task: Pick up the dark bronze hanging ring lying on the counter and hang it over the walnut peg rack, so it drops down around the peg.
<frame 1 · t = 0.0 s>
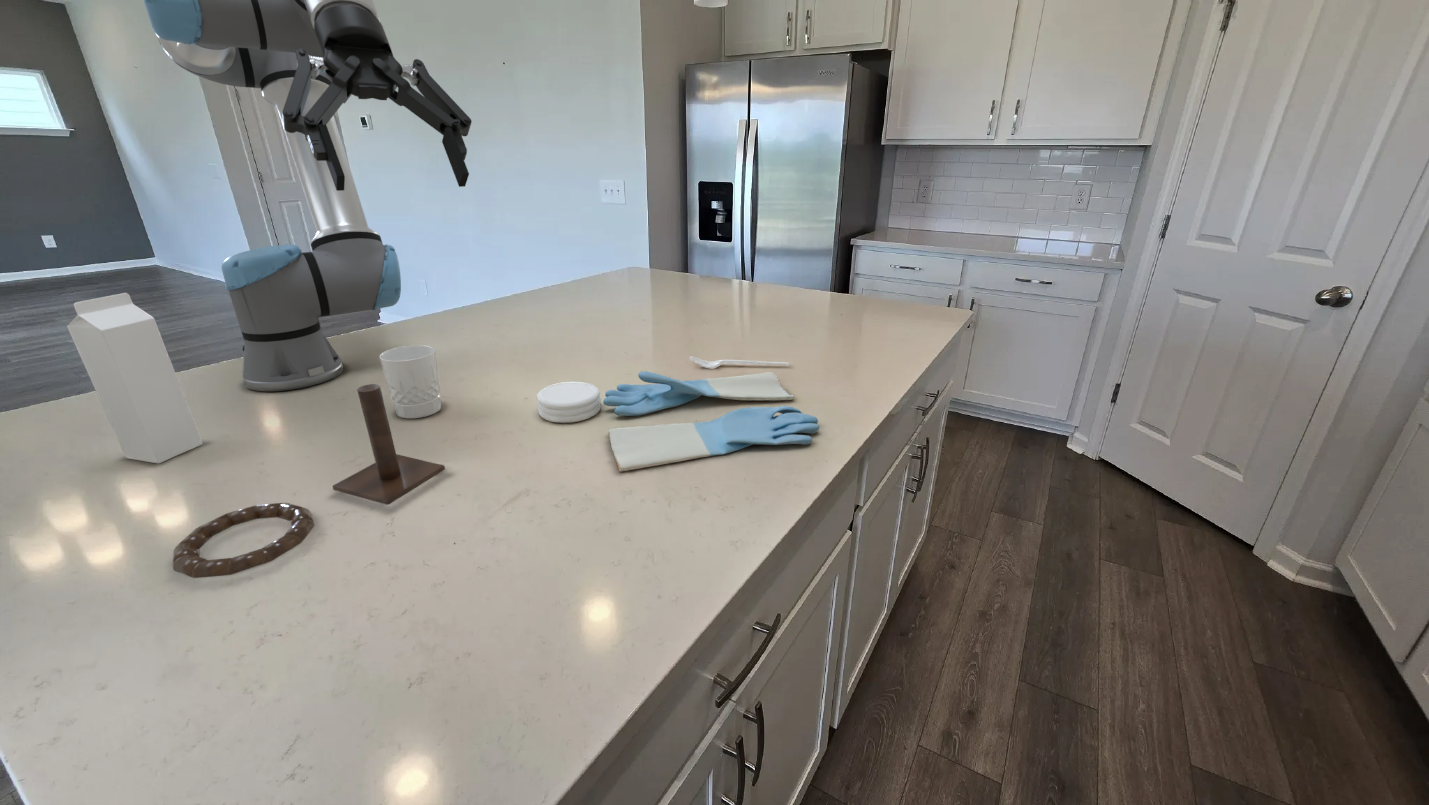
hand: (406, 182, 69), 36 cm above the worktop, tool tilted 35°, fingers open, 13 cm apart
white short cylinder: (570, 412, 96), on the worktop
rubber gloves: (707, 419, 94), on the worktop
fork: (739, 367, 117), on the worktop
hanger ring: (247, 538, 63), point 1 cm above the worktop
rack: (392, 485, 75), on the worktop
white cup: (419, 411, 96), on the worktop
milk: (166, 452, 82), on the worktop
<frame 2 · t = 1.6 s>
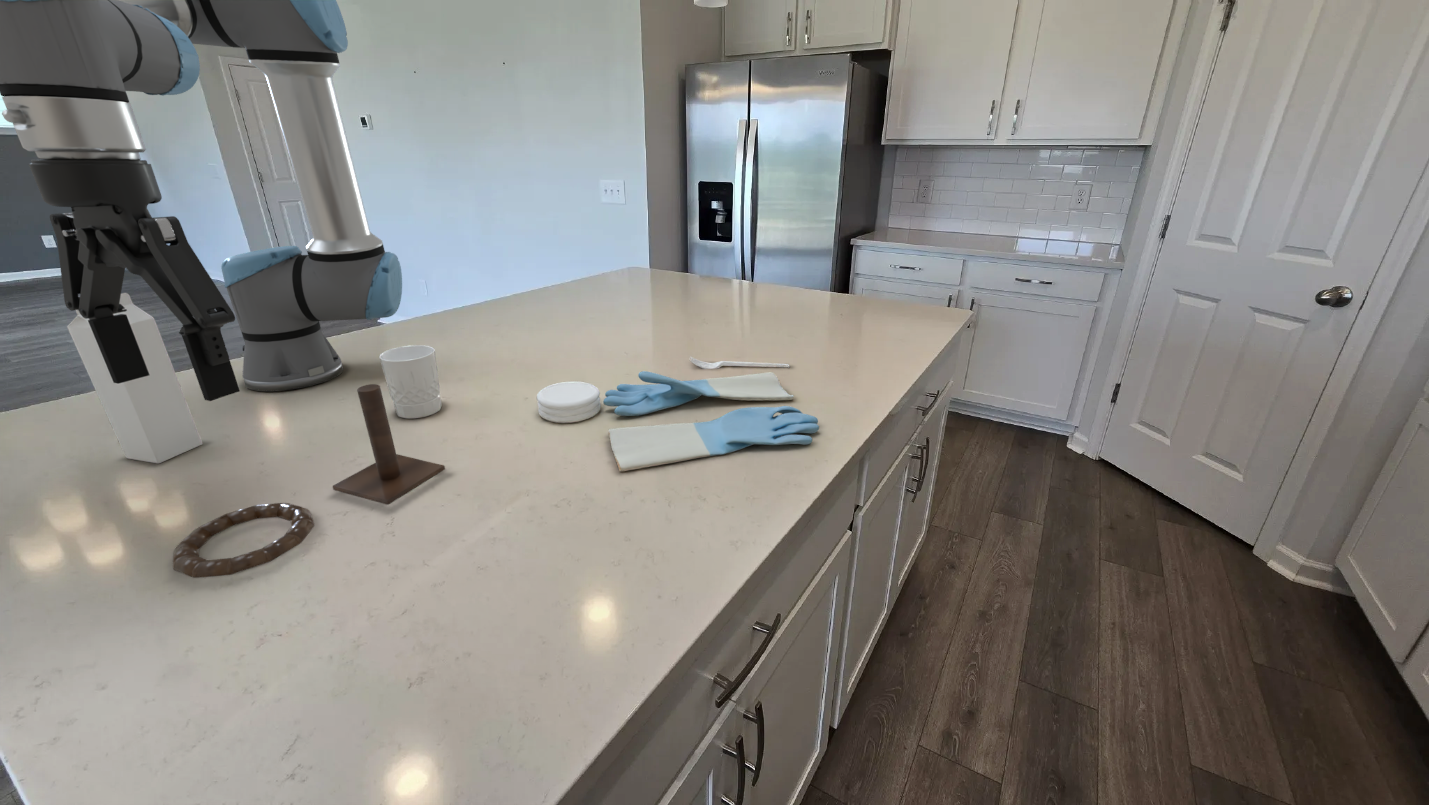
hand: (175, 387, 58), 18 cm above the worktop, tool pointing down, fingers open, 13 cm apart
nothing on the worktop moved.
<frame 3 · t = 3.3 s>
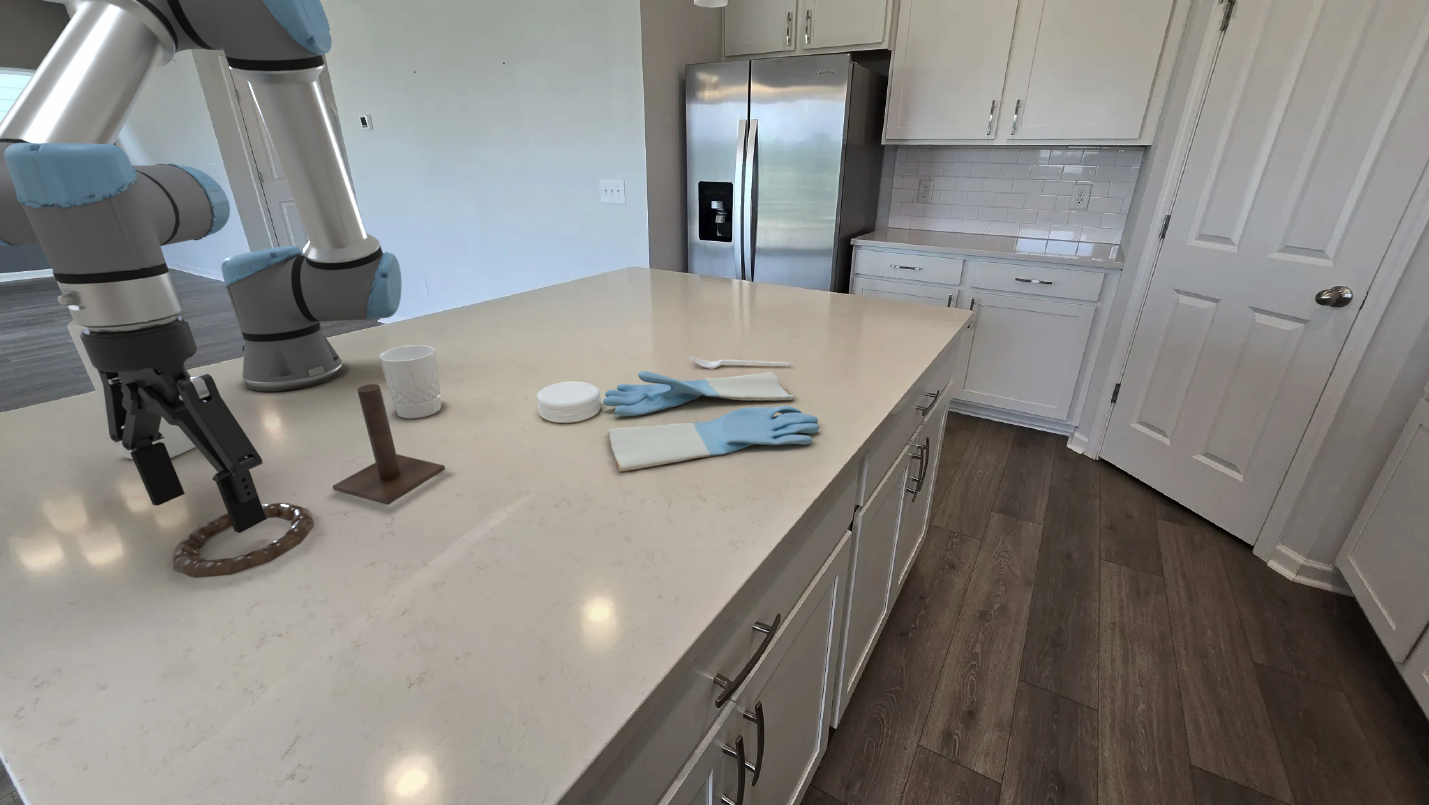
hand: (208, 512, 63), 3 cm above the worktop, tool pointing down, fingers open, 13 cm apart
nothing on the worktop moved.
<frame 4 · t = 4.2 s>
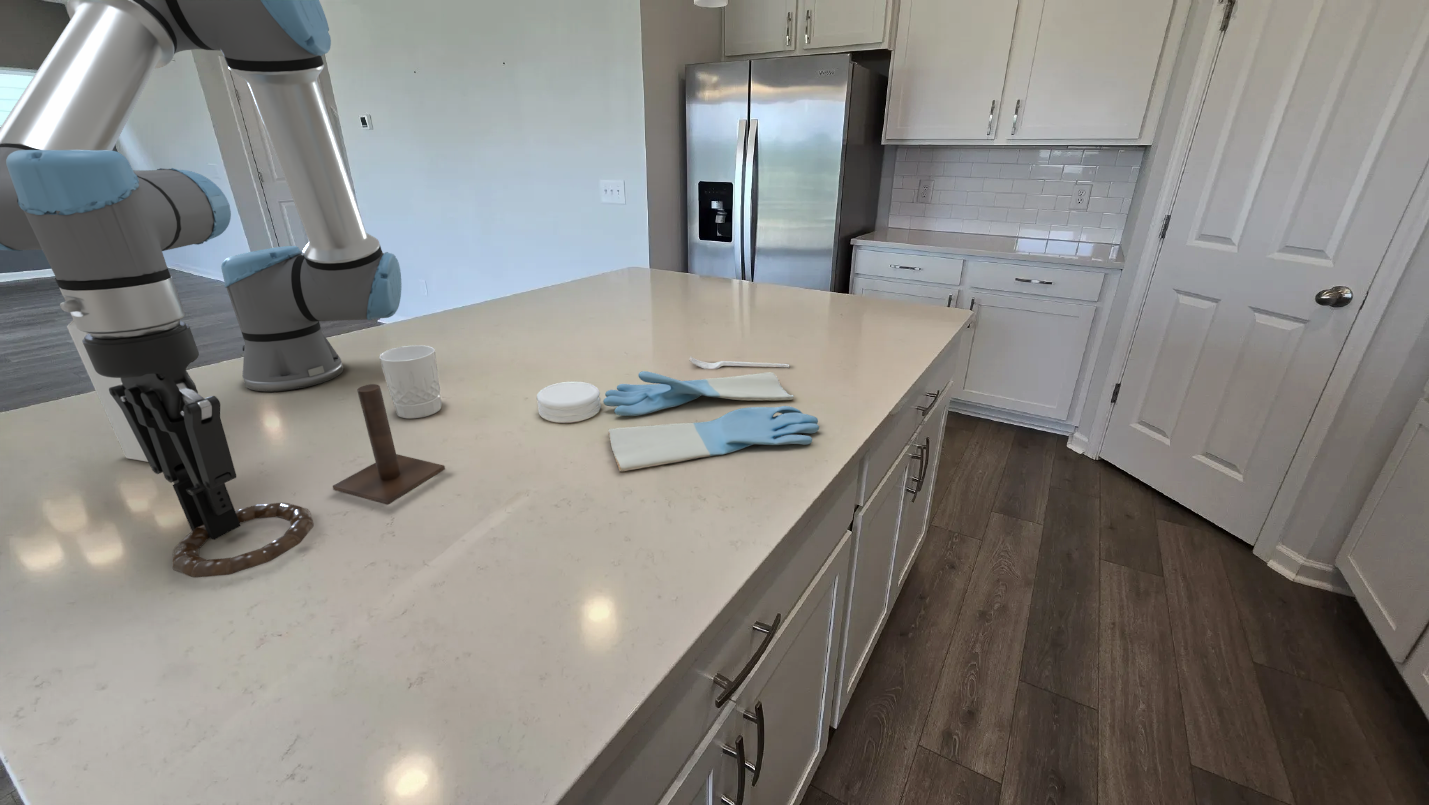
hand: (218, 532, 65), 1 cm above the worktop, tool pointing down, fingers closed on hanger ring, 2 cm apart
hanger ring: (246, 538, 63), point 1 cm above the worktop, touching gripper
everything else where it was.
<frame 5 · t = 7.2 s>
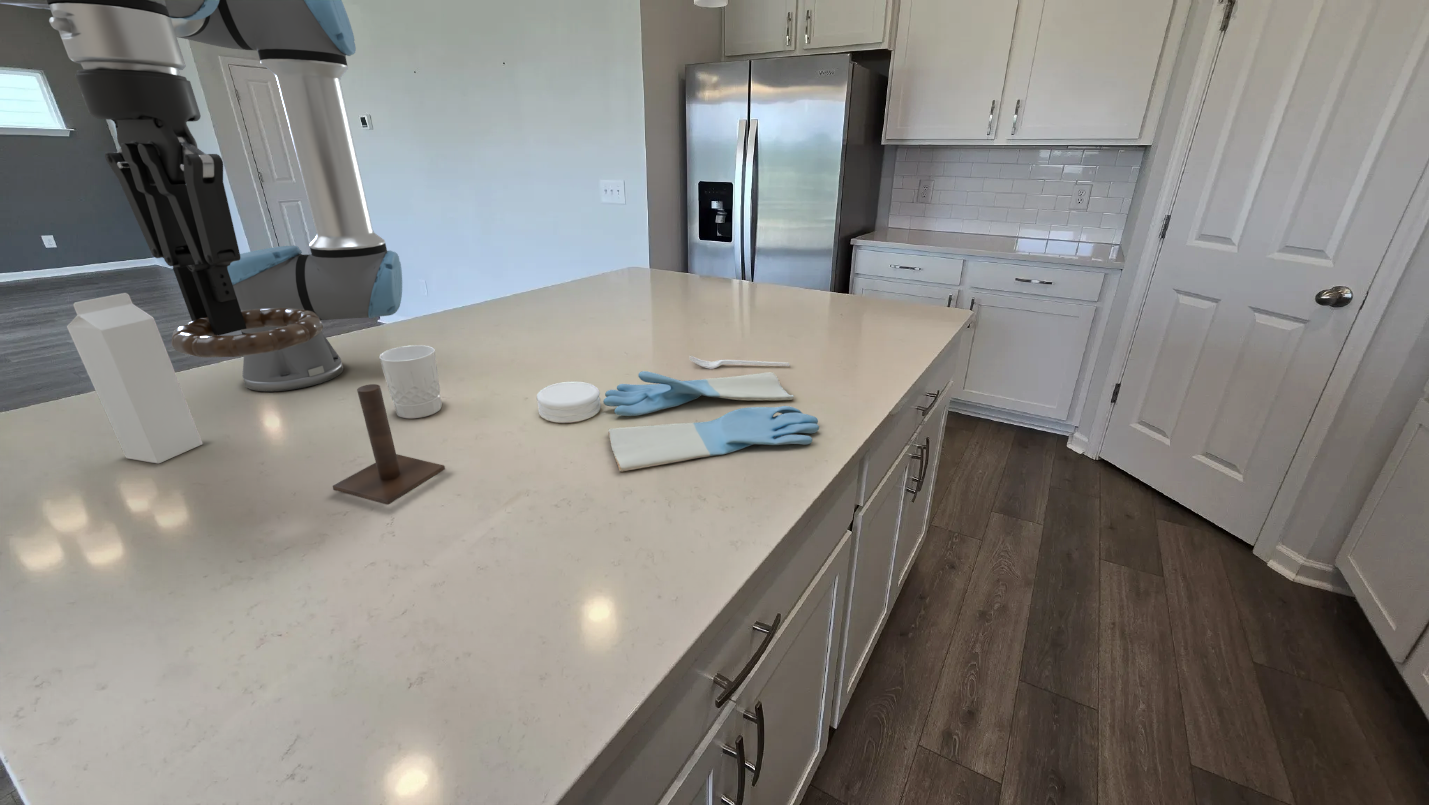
hand: (221, 329, 61), 22 cm above the worktop, tool pointing down, fingers closed on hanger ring, 2 cm apart
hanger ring: (251, 330, 59), point 23 cm above the worktop, touching gripper
everything else where it was.
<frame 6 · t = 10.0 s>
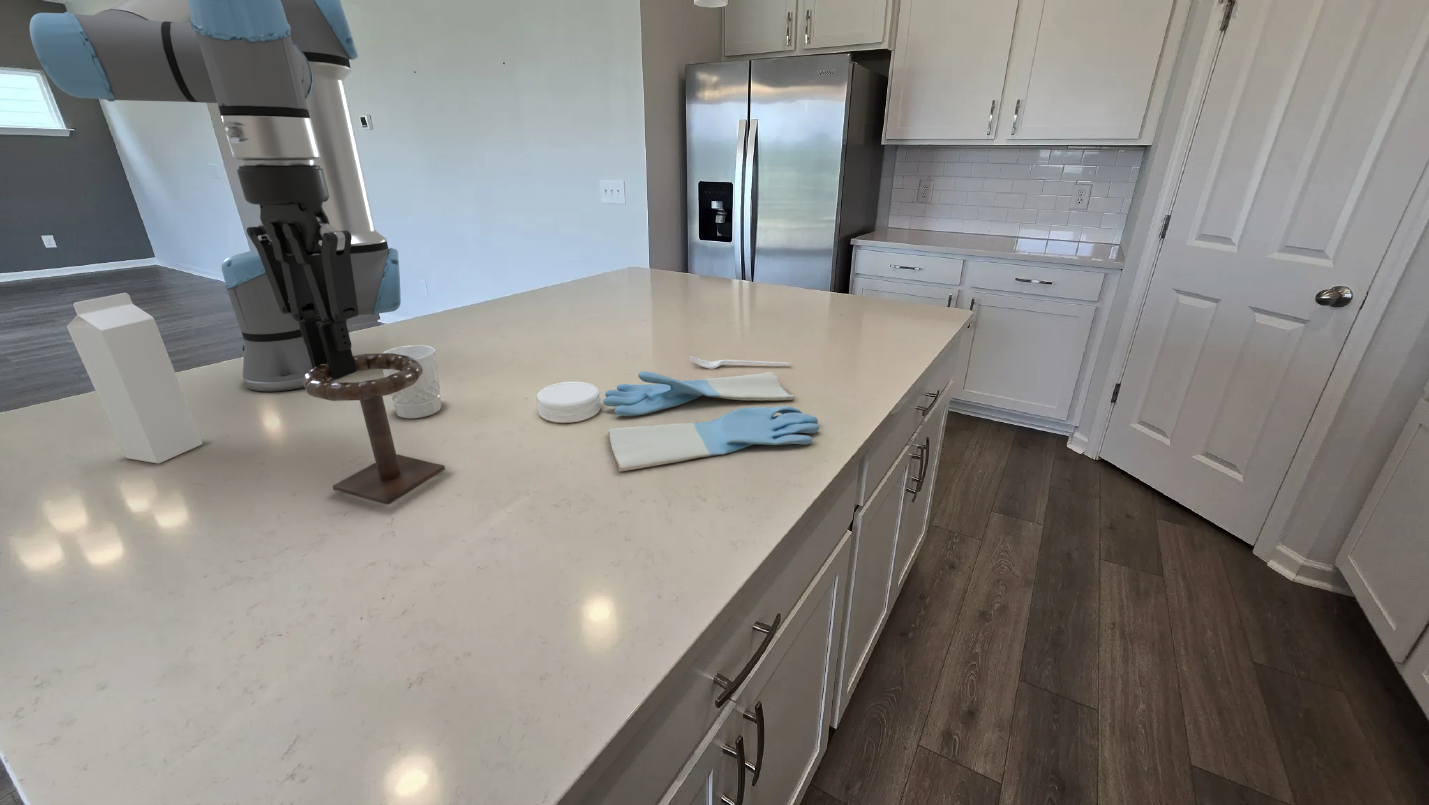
hand: (335, 373, 70), 15 cm above the worktop, tool pointing down, fingers closed on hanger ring, 2 cm apart
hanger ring: (364, 375, 69), point 15 cm above the worktop, touching gripper
everything else where it was.
when the fingers open (13 cm above the worktop, at t = 10.7 s): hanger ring drops 11 cm, resting on rack.
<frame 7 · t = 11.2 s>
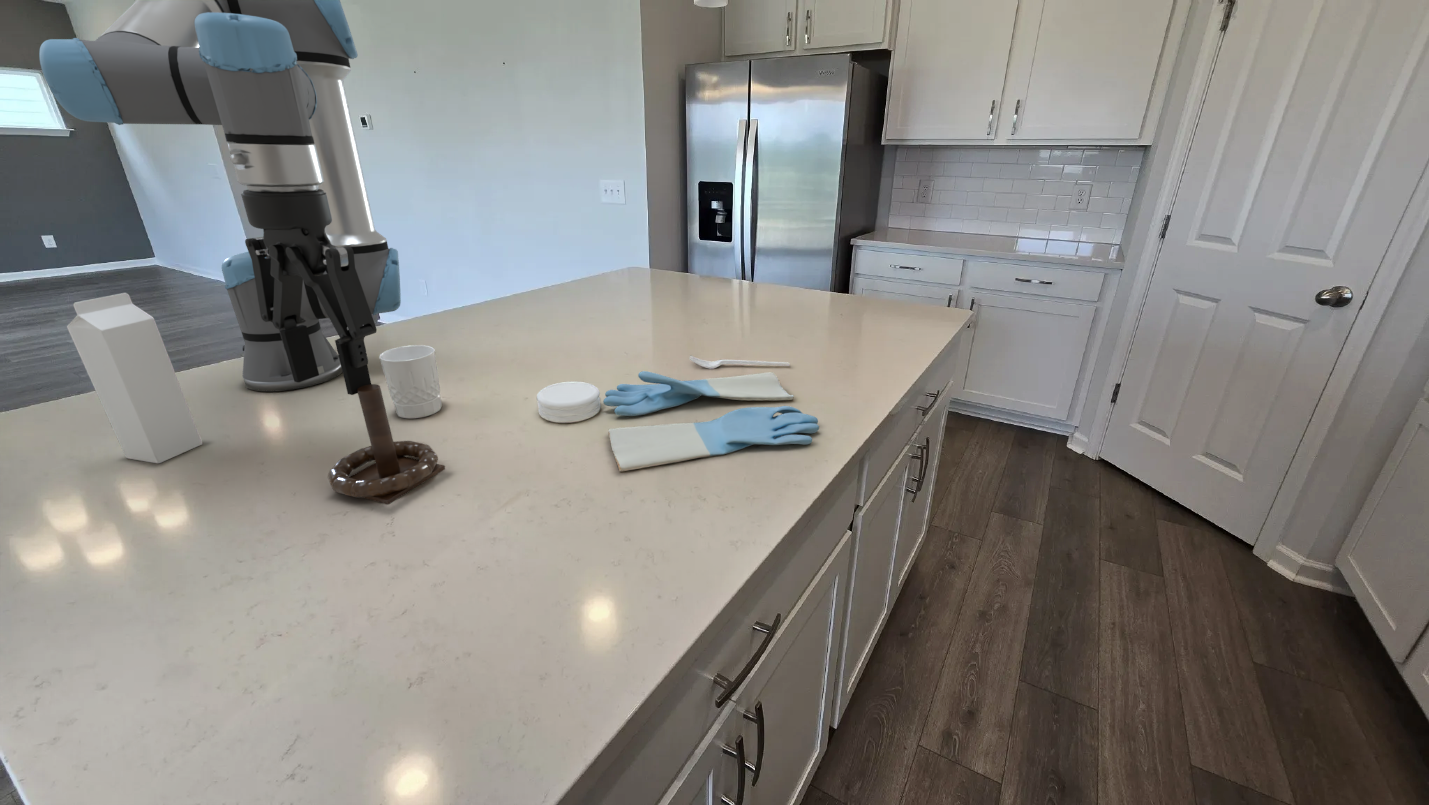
hand: (333, 384, 71), 13 cm above the worktop, tool pointing down, fingers open, 8 cm apart
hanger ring: (384, 467, 74), point 2 cm above the worktop, touching rack
everything else where it was.
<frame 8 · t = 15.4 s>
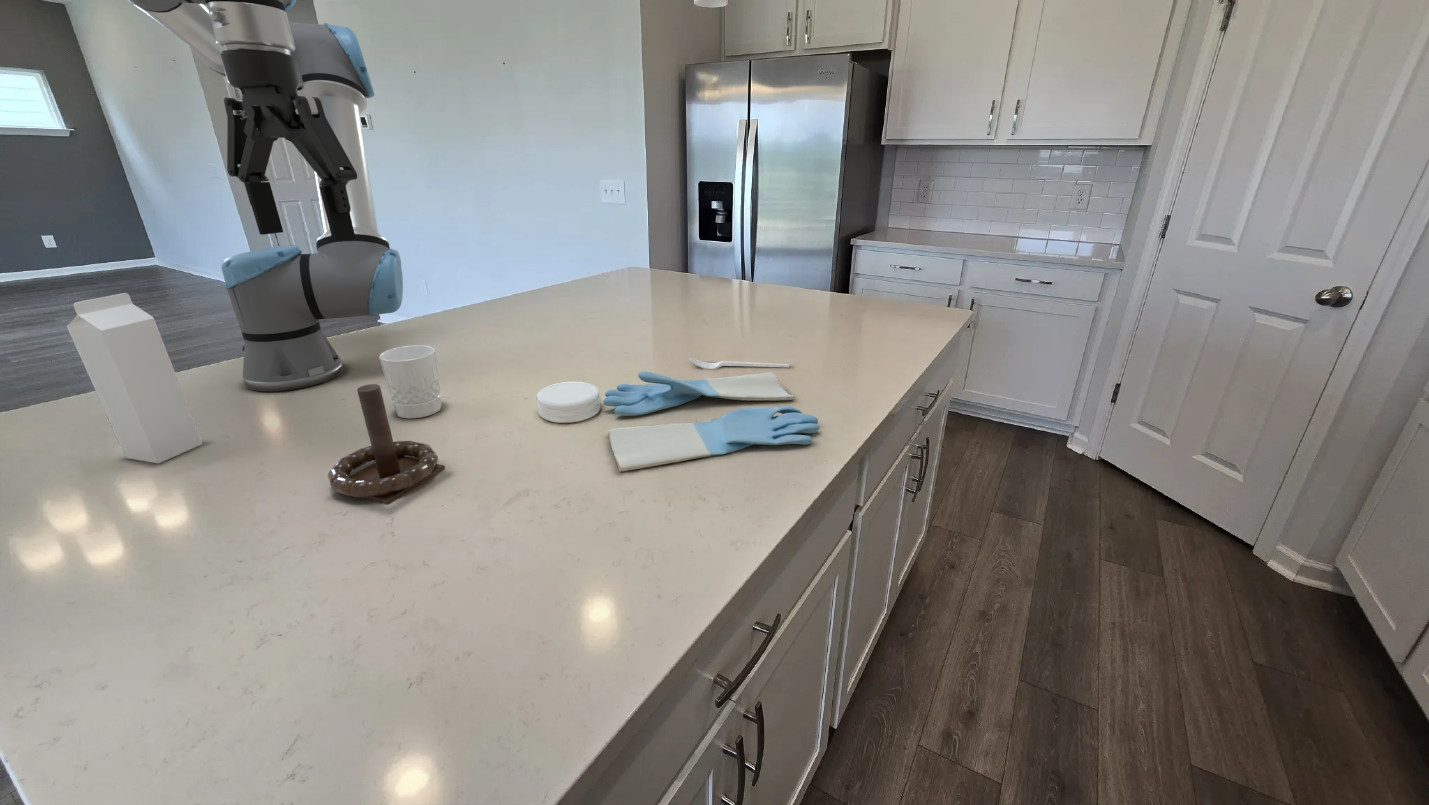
hand: (307, 236, 78), 29 cm above the worktop, tool pointing down, fingers open, 13 cm apart
nothing on the worktop moved.
at the end: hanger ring 0.7 cm from the rack (horizontally); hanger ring point 2.5 cm above the worktop; the gripper is holding nothing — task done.
